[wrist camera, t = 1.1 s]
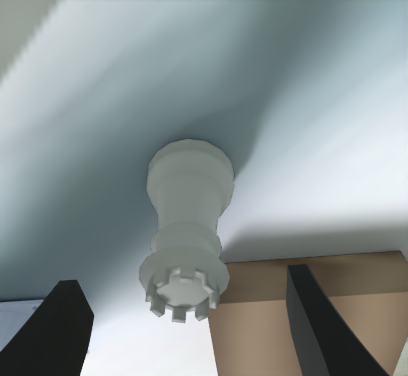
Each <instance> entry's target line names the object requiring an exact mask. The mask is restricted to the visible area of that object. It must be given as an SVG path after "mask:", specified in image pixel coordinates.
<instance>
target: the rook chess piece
mask: <svg viewBox="0 0 408 376" xmlns="http://www.w3.org/2000/svg"><path fill="white" fill-rule="evenodd" d="M234 177H235V176H234V171H233V167H232V163H231V161H230V160H229V159H228V157H227V156H226V155H225V154H224V152H223V151H222V150H221V149H219V148H217V147H215V146H214V145H212V144H210V143H208V142H206V141H200V140H193V139H185V140H180V141H175V142H171V143H169V144H168V145H166V146H165V147H163V148H162V149H160V150H159V151H157V152H156V154H155V155H154V157H153V159H152V160H151V162H150V164H149V168H148V177H147V193H148V196H149V198H150V200H151V203H152V205H153V207H154V208H155V210H156V212H157V214H158V227H159V230H158V231H157V232H156V234H155V235H154V237H153V238H152V240H151V251H152V253H153V254H151V255H149V256H148V257H147V258H146V260H145V261H144V262H143V264H142V265H141V266H140V272H139V280H140V282H141V284H142V286H143V288H144V290H145V291H146V302H151V308H150V311H152V312H153V313H154V314H156V315H157V316H158V317H161V316H162V315H163V314H165V308H167V309H169V310H172V311H173V313H172V322H179V323H185V320H186V312H190V311H195V317H196V319H197V320H198V321H200V320H203V319H205V318H207V317H210V307H211V308H215V309H218V305H219V302H220V295H221V294H222V293H223V292H224V291H225V290H226V288H227V285H228V282H229V278H230V276H229V273H228V270H227V266H226V265H225V264H224V263H223V262H222V261H221V260H220V259H219V257H220V253H221V250H222V246H221V242H220V239H219V237H218V236H217V235H216V229H217V223H218V218H219V217H220V216H221V214H222V213H223V212H224V210H225V209H226V208H227V206H228V205H229V204H230V201H231V198H232V194H233V190H234V183H233V181H234Z"/></svg>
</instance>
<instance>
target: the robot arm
mask: <svg viewBox="0 0 408 376" xmlns="http://www.w3.org/2000/svg"><path fill="white" fill-rule="evenodd" d="M286 307H287V313H288V319H289V325H290V331H291V336H292V339H293V343H294V347H295V350H296V354H297V357H298V361H299V365H300V368H301V372H302V375H303V376H390V375H389V374H388V373H387V372H386V371H385V370H384V369H383V367H382V366H381V365H380V364H379V363H378V362H377V361H376V360H375V358H374V357H373V356H372V355H371V354H370V352H369V351H368V350H367V349H366V348H365V346H364V345H363V344H362V343H361V341H360V340H359V339H358V338H357V337H356V335H355V334H354V333H353V331H352V330H351V329H350V327H349V326H348V325H347V323H346V322H345V321H344V319H343V318H342V317H341V315H340V314H339V313H338V311H337V310H336V308H335V307H334V306H333V304H332V303H331V301H330V300H329V298H328V297H327V295H326V294H325V292H324V291H323V289H322V287H321V286H320V284H319V283H318V281H317V279H316V278H315V276H314V274H313V272H312V271H311V269H310V267H309V266H308V265H307V264H298V265H287V288H286ZM93 320H94V314H93V312H92V310H91V308H90V306H89V304H88V302H87V300H86V298H85V296H84V293H83V291H82V289H81V287H80V285H79V283H78V281H77V280H65V281H59V283H58V284H57V285H56V286H55V287H54V289H53V290H52V291H51V292H50V293H49V295H48V296H47V297H46V298H45V299H44V300H29V301H14V302H0V376H80V373H81V370H82V367H83V363H84V360H85V357H86V353H87V350H88V347H89V342H90V337H91V332H92V326H93Z"/></svg>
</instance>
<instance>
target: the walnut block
mask: <svg viewBox="0 0 408 376" xmlns="http://www.w3.org/2000/svg"><path fill="white" fill-rule="evenodd" d="M298 264H307V265H308V266H309V267H310V269H311V271H312V272H313V274H314V276H315V278H316V279H317V281H318V283H319V284H320V286H321V287H322V289H323V291H324V292H325V294H326V295H327V297H328V298H329V300H330V301H331V303H332V304H333V306H334V307H335V308H336V310H337V311H338V313H339V314H340V315H341V317H342V318H343V319H344V321H345V322H346V323H347V325H348V326H349V327H350V329H351V330H352V331H353V333H354V334H355V335H356V337H357V338H358V339H359V340H360V341H361V343H362V344H363V345H364V346H365V348H366V349H367V350H368V351H369V352H370V354H371V355H372V356H373V357H374V358H375V360H376V361H377V362H378V363H379V364H380V365H381V366H382V367H383V369H384V370H385V371H386V372H387V373H388V374H389V375H390V376H393V373H394V371H395V368H396V365H397V363H398V360H399V358H400V355H401V352H402V350H403V347H404V345H405V342H406V339H407V337H408V262H407V261H406V259H405V257H404V256H403V254H402V253H401V251H393V252H379V253H365V254H351V255H337V256H323V257H309V258H295V259H282V260H268V261H254V262H240V263H226V264H225V265H226V266H227V270H228V273H229V276H230V278H229V282H228V285H227V288H226V290H225V291H224V292H223V293H222V294H221V295H220V302H219V305H218V309H215V308H211V307H210V317H208V321H209V327H210V332H211V338H212V344H213V350H214V355H215V361H216V367H217V372H218V376H303V375H302V372H301V368H300V365H299V361H298V357H297V354H296V350H295V347H294V343H293V339H292V336H291V331H290V325H289V319H288V313H287V307H286V288H287V265H298Z"/></svg>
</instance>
